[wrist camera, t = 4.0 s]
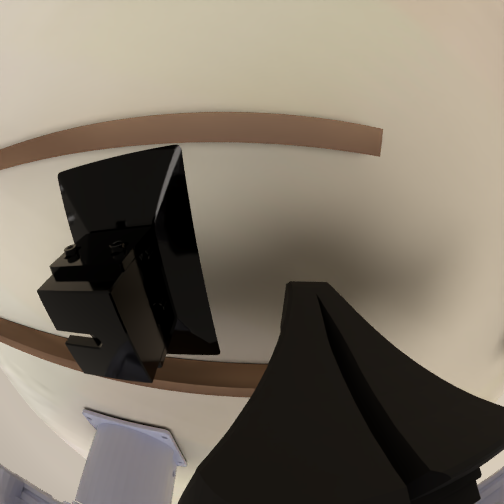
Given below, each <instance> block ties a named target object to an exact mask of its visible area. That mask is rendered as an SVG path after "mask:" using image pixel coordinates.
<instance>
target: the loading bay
mask: <svg viewBox="0 0 504 504" xmlns="http://www.w3.org/2000/svg"><path fill="white" fill-rule="evenodd" d="M382 134H383V129H380V128H375V127H371V126H366V125H360V124H355V123H349V122H343V121H337V120H330V119H323V118H315V117H306V116H296V115H285V114H271V113H250V112H199V113H178V114H164V115H153V116H144V117H135V118H128V119H120V120H114V121H108V122H102V123H96V124H91V125H86V126H81V127H76V128H72V129H68V130H63V131H59V132H55V133H51V134H48V135H44V136H41V137H37V138H34V139H30V140H27V141H24V142H21V143H18V144H15V145H12V146H9V147H6V148H4V149H1V150H0V170H2V169H5V168H9V167H13V166H16V165H20V164H24V163H29V162H33V161H37V160H42V159H47V158H51V157H57V156H62V155H67V154H73V153H79V152H86V151H92V150H100V149H107V148H116V147H125V146H136V145H148V144H163V143H185V142H246V143H269V144H284V145H297V146H308V147H317V148H326V149H334V150H342V151H349V152H356V153H362V154H368V155H374V156H380V152H381V144H382ZM66 341H67V338H63V337H59V336H56V335H52V334H49V333H45V332H42V331H38V330H35V329H32V328H29V327H25V326H22V325H19V324H16V323H14V322H11V321H8V320H5V319H2V318H0V342H2V343H5V344H7V345H9V346H11V347H14V348H16V349H18V350H21V351H23V352H26V353H28V354H31V355H33V356H36V357H39V358H41V359H44V360H47V361H50V362H53V363H56V364H59V365H62V366H65V367H68V368H71V369H74V370H78V371H81V372H83V371H82V369H81V368H80V367H79V365H78V364H77V362H76V361H75V359H74V358H73V356H72V354H71V353H70V351H69V350H68V348H67V346H66V345H65V342H66ZM267 366H268V364H240V363H222V362H208V361H196V360H186V359H177V358H169V357H165V360H164V363H163V366H162V367H161V368H157V371H156V374H155V377H154V380H153V383H144V382H135V381H128V380H121V379H114V378H108V377H104V378H108V379H112V380H116V381H121V382H125V383H130V384H135V385H140V386H146V387H152V388H158V389H164V390H171V391H178V392H186V393H195V394H205V395H217V396H232V397H251V396H252V394H253V392H254V391H255V389H256V387H257V385H258V383H259V381H260V380H261V378H262V376H263V374H264V372H265V370H266V368H267ZM96 376H97V375H96ZM100 377H102V376H100Z"/></svg>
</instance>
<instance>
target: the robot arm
mask: <svg viewBox="0 0 504 504" xmlns="http://www.w3.org/2000/svg"><path fill="white" fill-rule="evenodd" d="M280 327H281V333H280V336H279V339H278V342H277V345H276V347H275V350H274V352H273V355H272V357H271V359H270V361H269V364H268V366H267V368H266V370H265V372H264V374H263V376H262V378H261V380H260V381H259V383H258V385H257V387H256V389H255V391H254V392H253V394H252V396H251V397H250V399H249V401H248V402H247V404H246V405H245V407H244V408H243V410H242V411H241V413H240V414H239V416H238V417H237V419H236V420H235V422H234V423H233V424H232V426H231V427H230V429H229V430H228V431H227V433H226V434H225V435H224V437H223V438H222V439H221V440H220V441H219V443H218V444H217V445H216V446H215V447H214V449H213V450H212V451H211V452H210V453H209V454H208V456H207V457H206V458H205V459H204V460H203V461H202V462H201V464H200V465H199V466H198V467H197V469H196V471H195V473H194V475H193V477H192V478H191V480H190V482H189V483H188V485H187V487H186V488H185V490H184V492H183V494H182V496H181V498H180V500H179V502H178V504H504V467H502V468H501V469H500V470H498V471H497V472H495V473H494V474H493V475H491V476H490V477H488V478H487V479H485V480H484V481H482V482H481V483H480V484H478V485H477V483H476V480H477V479H478V478H480V477H481V471H480V468H479V467H480V466H482V465H483V464H485V463H486V462H488V461H489V460H490V459H492V458H493V457H494V456H496V455H497V454H498V453H500V452H501V451H502V450H504V407H502V406H500V405H497V404H494V403H492V402H489V401H486V400H484V399H481V398H478V397H476V396H474V395H472V394H470V393H468V392H466V391H464V390H461V389H459V388H457V387H455V386H454V385H452V384H450V383H448V382H446V381H445V380H443V379H441V378H440V377H438V376H436V375H435V374H433V373H431V372H430V371H428V370H427V369H425V368H424V367H422V366H421V365H419V364H418V363H416V362H415V361H413V360H412V359H411V358H409V357H408V356H407V355H405V354H404V353H403V352H401V351H400V350H399V349H398V348H396V347H395V346H394V345H393V344H391V343H390V342H389V341H388V340H387V339H386V338H384V337H383V336H382V335H381V334H380V333H379V332H378V331H376V330H375V329H374V328H373V327H372V326H371V325H370V324H369V323H368V322H367V321H366V320H365V319H364V318H363V317H362V316H360V315H359V314H358V313H357V312H356V311H355V310H354V309H353V308H352V307H351V306H350V305H349V304H348V303H347V302H346V300H345V299H344V298H343V297H342V296H341V295H340V294H339V293H338V292H337V291H336V290H335V289H334V288H333V287H332V286H331V285H330V284H328V283H327V282H295V281H290V282H289V283H287V284H286V291H285V298H284V305H283V312H282V319H281V326H280ZM82 414H83V415H84V416H85V417H86V419H87V420H88V421H89V422H90V423H91V424H92V426H93V427H94V428H95V429H96V430H97V431H96V433H95V436H94V439H93V442H92V445H91V448H90V451H89V454H88V457H87V460H86V464H85V467H84V470H83V473H82V477H81V480H80V484H79V487H78V491H77V495H76V499H75V500H76V501H78V502H80V503H82V504H171V502H172V495H173V489H174V482H175V476H176V469H177V466H184V467H185V466H187V462H186V461H185V459H184V457H183V455H182V454H181V452H180V450H179V448H178V446H177V445H176V443H175V441H174V439H173V437H172V435H171V433H170V432H169V431H168V430H165V429H161V428H156V427H150V426H146V425H141V424H137V423H132V422H128V421H124V420H120V419H116V418H113V417H109V416H106V415H102V414H99V413H96V412H93V411H89V410H86V409H83V412H82ZM0 504H70V503H68V502H66V501H64V502H63V503H61V502H59V501H57V500H56V499H54V498H53V497H52V496H51V495H50V494H48V493H46V492H44V491H43V490H41V489H39V488H38V487H36V486H35V485H33V484H31V483H30V482H28V481H27V480H25V479H23V478H22V477H20V476H19V475H17V474H15V473H13V472H11V471H10V470H8V469H7V468H5V467H4V466H2V465H1V464H0ZM72 504H79V503H77V502H75V501H73V502H72Z"/></svg>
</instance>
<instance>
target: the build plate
mask: <svg viewBox="0 0 504 504" xmlns="http://www.w3.org/2000/svg"><path fill="white" fill-rule="evenodd" d="M58 181H59V186H60V191H61V195H62V199H63V203H64V208H65V211H66V215H67V219H68V223H69V226H70V230H71V233H72V236H73V240H74V243H75V244H73V245H70V246H68V247H66V248H65V249H64V253H63V254H62V255H61V256H60V257H59V258H58V259H57V260H56V261H55V262H53V263H52V264H51V265H50V269H51V271H52V274H53V275H52V276H51V277H50V278H49V279H48V280H47V281H46V282H45V283H44V284H43V285H42V286H41V287H40V288H39V289H38V290H37V293H38V295H39V297H40V299H41V301H42V303H43V305H44V307H45V309H46V311H47V313H48V315H49V317H50V319H51V320H52V322H53V324H54V326H55V328H56V330H59V331H67V332H74V333H83V334H90V335H91V336H92V337H93V338H90V337H81V336H74V335H70V336H69V338H68V339H67V341H66V342H65V345H66V346H67V348H68V350H69V351H70V353H71V354H72V356H73V358H74V359H75V361H76V362H77V364H78V365H79V367H80V368H81V369H82V371H83V372H84V373H86V374H91V375H97V376H102V377H108V378H114V379H121V380H128V381H135V382H144V383H153V380H154V377H155V374H156V371H157V368H161V367H162V366H163V363H164V360H165V357H166V354H187V355H219V354H220V349H219V345H218V341H217V337H216V333H215V328H214V324H213V320H212V315H211V311H210V306H209V302H208V297H207V293H206V288H205V283H204V278H203V274H202V269H201V264H200V259H199V253H198V248H197V243H196V237H195V232H194V226H193V221H192V215H191V209H190V203H189V197H188V191H187V184H186V177H185V171H184V164H183V157H182V150H181V147H180V146H179V145H170V146H164V147H159V148H153V149H148V150H143V151H139V152H134V153H129V154H125V155H121V156H116V157H112V158H108V159H104V160H101V161H97V162H93V163H89V164H86V165H82V166H79V167H76V168H72V169H69V170H66V171H63V172H60V173H59V174H58Z"/></svg>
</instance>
